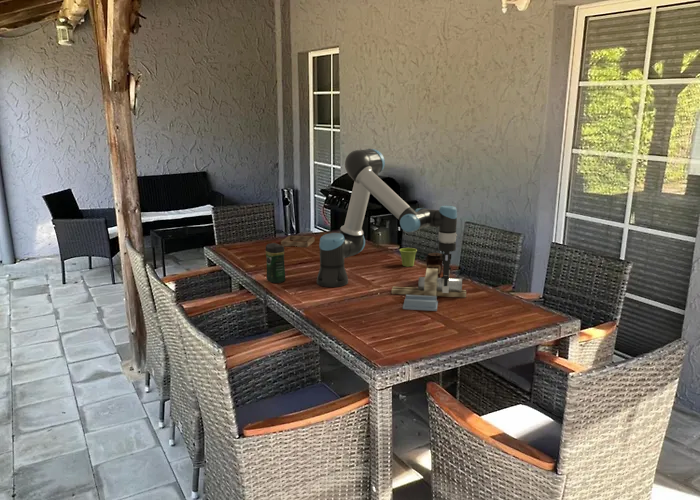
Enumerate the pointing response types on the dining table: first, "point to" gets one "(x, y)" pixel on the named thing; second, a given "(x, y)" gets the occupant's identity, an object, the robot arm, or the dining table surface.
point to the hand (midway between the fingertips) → (445, 288)
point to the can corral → (298, 238)
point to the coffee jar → (275, 263)
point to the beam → (428, 287)
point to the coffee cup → (435, 262)
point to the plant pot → (408, 256)
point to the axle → (454, 284)
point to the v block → (420, 302)
